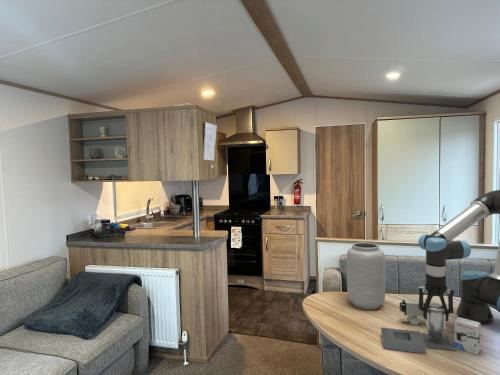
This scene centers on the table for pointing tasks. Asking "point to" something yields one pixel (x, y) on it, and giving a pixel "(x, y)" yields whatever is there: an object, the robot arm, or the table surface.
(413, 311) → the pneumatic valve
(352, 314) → the table surface
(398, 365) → the table surface
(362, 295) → the vase
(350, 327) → the table surface
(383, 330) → the frame
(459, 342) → the ink box
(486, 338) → the table surface
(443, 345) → the mat
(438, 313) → the grey bottle
